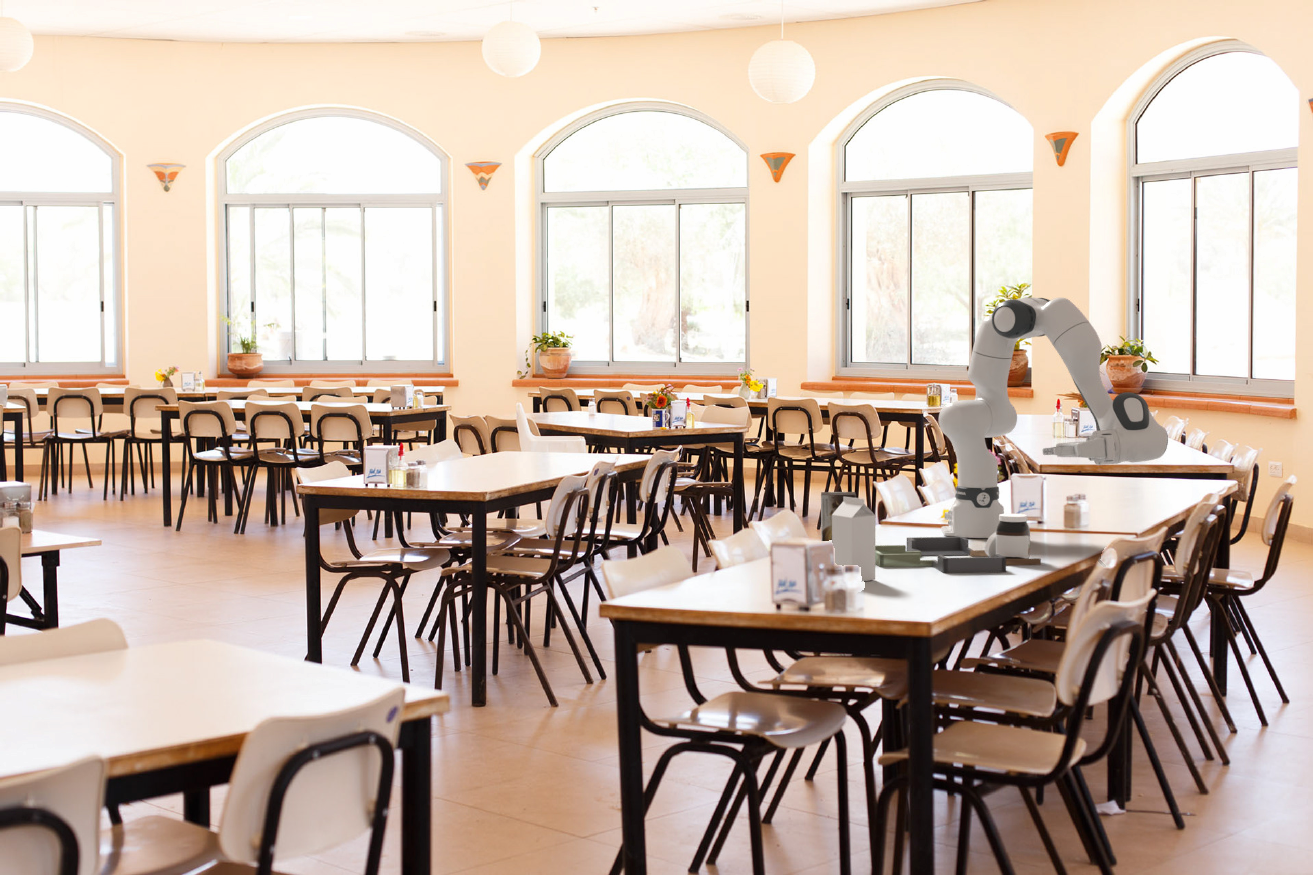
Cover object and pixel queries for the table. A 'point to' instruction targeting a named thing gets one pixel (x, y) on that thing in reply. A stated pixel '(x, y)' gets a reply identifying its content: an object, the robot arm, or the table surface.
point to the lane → (903, 558)
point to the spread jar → (1010, 538)
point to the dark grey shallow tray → (970, 564)
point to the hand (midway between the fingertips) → (1048, 451)
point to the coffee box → (830, 510)
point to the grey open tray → (939, 546)
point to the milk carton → (854, 536)
